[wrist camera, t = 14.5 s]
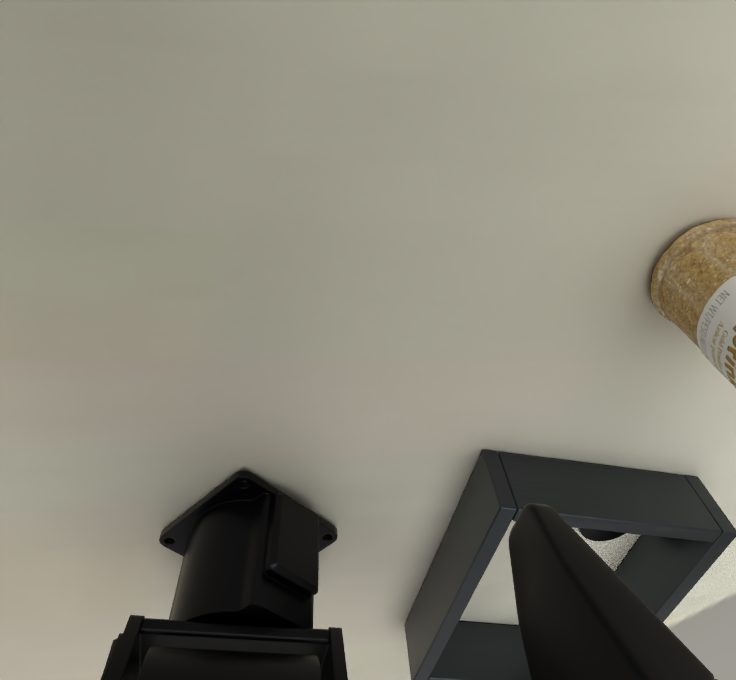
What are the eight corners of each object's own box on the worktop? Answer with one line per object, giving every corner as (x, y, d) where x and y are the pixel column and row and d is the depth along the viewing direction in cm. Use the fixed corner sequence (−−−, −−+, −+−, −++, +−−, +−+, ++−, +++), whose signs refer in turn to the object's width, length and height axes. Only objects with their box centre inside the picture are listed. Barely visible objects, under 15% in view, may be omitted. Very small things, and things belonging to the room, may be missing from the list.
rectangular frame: (404, 624, 35) (411, 684, 32) (482, 448, 27) (500, 507, 25) (579, 637, 37) (601, 695, 34) (698, 476, 29) (739, 533, 27)
